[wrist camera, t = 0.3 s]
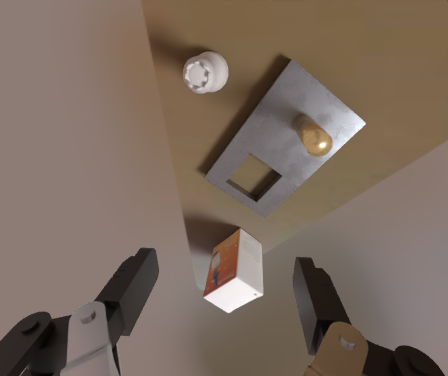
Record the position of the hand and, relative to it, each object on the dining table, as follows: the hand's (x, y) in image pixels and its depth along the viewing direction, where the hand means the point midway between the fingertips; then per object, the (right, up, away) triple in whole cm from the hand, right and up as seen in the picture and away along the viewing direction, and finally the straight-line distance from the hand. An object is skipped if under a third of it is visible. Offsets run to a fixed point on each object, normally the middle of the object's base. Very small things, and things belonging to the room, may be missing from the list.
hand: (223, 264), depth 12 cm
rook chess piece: (-1, +19, +15) cm, 24 cm away
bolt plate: (+7, +10, +19) cm, 22 cm away
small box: (+3, -7, +29) cm, 30 cm away
